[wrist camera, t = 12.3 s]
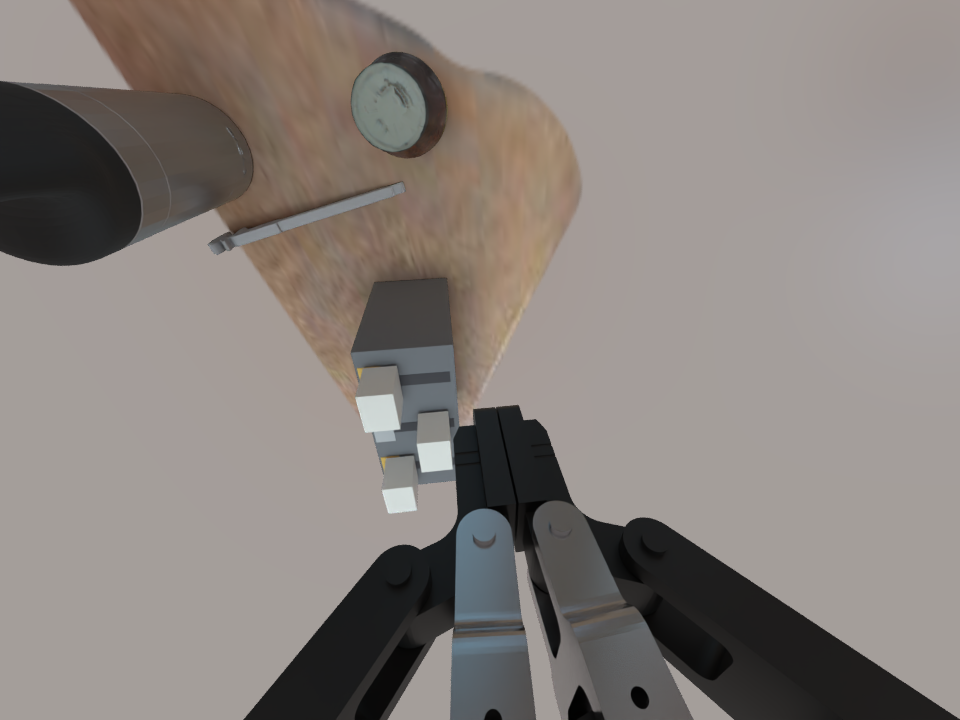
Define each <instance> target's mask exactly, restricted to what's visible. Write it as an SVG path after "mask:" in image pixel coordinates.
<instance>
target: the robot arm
mask: <svg viewBox="0 0 960 720" xmlns="http://www.w3.org/2000/svg"><path fill="white" fill-rule="evenodd" d="M252 174H253V163H252V158H251V153H250V150H249V148H248V145H247V143H246V141H245V139H244V137H243V135H242V134H241V132H240V131H239V129H238V128H237V127H236V125H235V124H234V123H233V122H232V121H231V120H230V118H229V117H227V116H226V115H225V114H224V113H223V112H222V111H220V110H219V109H218V108H216V107H215V106H213V105H212V104H210V103H208V102H207V101H204V100H202V99H199V98H197V97H194V96H189V95H184V94H173V93H159V92H149V91H135V90H120V89H107V88H92V87H79V86H65V85H51V84H33V83H17V82H5V81H4V82H3V81H0V251H2V252H4V253H6V254H9V255H12V256H15V257H17V258H21V259H24V260H27V261H31V262H36V263H41V264H47V265H57V266H67V265H68V266H69V265H79V264H84V263H89V262H92V261H95V260H98V259H101V258H103V257H105V256H108V255H109V254H112V253H114V252H116V251H119V250H121V249H123V248H125V247H127V246H130V245H132V244H134V243H136V242H139V241H141V240H143V239H145V238H148V237H150V236H152V235H154V234H156V233H159V232H161V231H163V230H165V229H168V228H170V227H172V226H175V225H177V224H179V223H181V222H184V221H186V220H188V219H191V218H193V217H195V216H198V215H200V214H202V213H205V212H207V211H209V210H211V209H214V208H217V207H219V206H221V205H223V204H226V203H228V202H230V201H232V200H234V199H236V198H238V197H240V196H241V195H242V194H243V193H244V192H245V191H246V190H247V188H248V186H249V184H250V182H251V179H252ZM473 420H474V425H471V426H461V427H459V428H458V430H457V432H456V434H455V436H454V439H453V444H454V459H455V474H456V490H457V505H458V515H457V520H456V523H455V525H454V527H453V528H452V530H451V531H450V532H449V533H448V534H447V535H446V537H444V538H443V539H441V540H440V541H438V542H436V543H434V544H432V545H430V546H427V547H425V548H423V549H421V550H419V549H418V548H416V547H414V546H411V545H398V546H394V547H392V548H390V549H388V550H386V551H385V552H384V553H382V554H381V555H380V556H379V557H378V558H377V559H376V561H375V562H374V563H373V564H372V565H371V567H370V568H369V569H368V570H367V571H366V573H365V574H364V575H363V576H362V578H361V579H360V580H359V581H358V582H357V583H356V585H355V586H354V587H353V588H352V590H351V591H350V592H349V593H348V594H347V596H346V597H345V598H344V599H343V600H342V602H341V603H340V604H339V605H338V606H337V608H336V609H335V610H334V611H333V613H332V614H331V615H330V616H329V617H328V619H327V620H326V621H325V622H324V624H322V626H321V627H320V628H319V629H318V631H317V632H316V633H315V634H314V635H313V637H312V638H311V639H310V640H309V641H308V643H307V644H306V645H305V646H304V647H303V649H302V650H301V651H300V652H299V653H298V655H297V656H296V657H295V658H294V659H293V661H292V662H291V663H290V664H289V665H288V667H287V668H286V669H285V670H284V672H283V673H282V674H281V675H280V676H279V678H278V679H277V680H276V681H275V683H274V684H273V685H272V686H271V687H270V688H269V690H268V691H267V692H266V693H265V695H264V696H263V697H262V698H261V699H260V701H259V702H258V703H257V704H256V705H255V706H254V708H253V709H252V710H251V711H250V713H249V714H248V715H247V716H246V718H245V719H244V720H387V719H388V718H389V716H390V714H391V712H392V711H393V709H394V708H395V706H396V704H397V703H398V701H399V699H400V698H401V696H402V694H403V692H404V691H405V689H406V687H407V686H408V684H409V682H410V681H411V679H412V677H413V676H414V674H415V672H416V671H417V669H418V667H419V666H420V664H421V662H422V661H423V659H424V657H425V656H426V654H427V652H428V650H429V649H430V647H431V645H432V644H433V642H434V640H435V638H436V637H437V636H439V635H441V634H443V633H444V632H446V631H448V630H450V629H451V628H453V627H454V629H453V638H452V667H451V669H452V670H451V710H450V720H536V714H535V706H534V697H533V688H532V680H531V671H530V663H529V654H528V646H527V639H526V633H525V628H524V625H523V622H522V617H521V609H520V600H519V591H518V582H517V573H516V565H515V555H514V546H515V551H516V552H521V551H525V555H526V560H527V564H528V571H527V578H528V583H529V587H530V591H531V595H532V598H533V601H534V605H535V609H536V613H537V616H538V620H539V623H540V627H541V630H542V634H543V638H544V641H545V645H546V649H547V652H548V656H549V660H550V665H551V672H552V681H553V686H554V691H555V696H556V700H557V704H558V708H559V711H560V715H561V719H562V720H693V718H692V716H691V714H690V711H689V710H688V707H687V705H686V704H685V701H684V699H683V697H682V695H681V693H680V691H679V689H678V687H677V685H676V683H675V681H674V679H673V677H672V675H671V673H670V670H669V669H668V666H667V664H666V662H665V660H664V658H665V659H666V660H667V661H668V662H670V663H671V664H672V665H673V666H674V667H675V668H676V669H677V670H679V671H680V672H681V673H682V674H683V675H684V676H685V677H686V678H688V679H689V680H690V681H691V682H692V683H693V684H694V685H695V686H697V687H698V688H699V689H700V690H701V691H702V692H703V693H705V694H706V695H707V696H708V697H709V698H710V699H711V700H713V701H714V702H715V703H716V704H717V705H718V706H719V707H720V708H722V709H723V710H724V711H725V712H726V713H727V714H728V715H730V716H731V717H732V718H733V719H734V720H960V719H958V718H957V717H955V716H954V715H952V714H951V713H949V712H948V711H946V710H945V709H943V708H942V707H940V706H939V705H937V704H936V703H934V702H933V701H931V700H930V699H928V698H927V697H925V696H924V695H922V694H921V693H919V692H918V691H916V690H914V689H913V688H912V687H910V686H909V685H907V684H906V683H904V682H902V681H901V680H899V679H898V678H896V677H895V676H893V675H892V674H890V673H889V672H887V671H886V670H884V669H883V668H881V667H880V666H878V665H877V664H875V663H874V662H872V661H871V660H869V659H868V658H866V657H865V656H863V655H861V654H860V653H859V652H857V651H855V650H854V649H853V648H851V647H850V646H848V645H847V644H845V643H843V642H842V641H840V640H839V639H837V638H836V637H834V636H833V635H831V634H830V633H828V632H827V631H825V630H824V629H822V628H821V627H819V626H818V625H816V624H815V623H813V622H812V621H810V620H809V619H807V618H806V617H804V616H803V615H801V614H800V613H798V612H797V611H795V610H794V609H792V608H790V607H789V606H787V605H786V604H784V603H783V602H781V601H780V600H778V599H777V598H775V597H774V596H772V595H771V594H769V593H768V592H766V591H765V590H763V589H762V588H760V587H759V586H757V585H756V584H754V583H753V582H751V581H750V580H748V579H747V578H745V577H744V576H742V575H740V574H739V573H738V572H736V571H734V570H733V569H732V568H730V567H728V566H727V565H726V564H724V563H722V562H721V561H719V560H718V559H716V558H715V557H713V556H712V555H710V554H709V553H707V552H706V551H704V550H703V549H701V548H700V547H698V546H697V545H695V544H694V543H692V542H691V541H689V540H688V539H686V538H685V537H683V536H682V535H680V534H679V533H677V532H676V531H674V530H672V529H671V528H669V527H668V526H667V525H665V524H663V523H662V522H659V521H657V520H654V519H651V518H636V519H633V520H632V521H630V522H629V523H628V524H627V525H626V527H623V526H618V525H613V524H609V523H603V522H599V521H596V520H594V519H591V518H589V517H588V516H586V515H585V514H583V513H582V512H581V511H580V510H579V509H578V508H577V507H576V506H575V505H574V503H573V501H572V499H571V497H570V495H569V492H568V489H567V486H566V484H565V481H564V478H563V475H562V473H561V470H560V467H559V464H558V461H557V459H556V457H555V453H554V450H553V447H552V446H551V442H550V439H549V436H548V434H547V431H546V430H545V428H544V427H543V426H542V425H541V424H540V423H539V422H538V421H537V420H536V419H534V420H523V417H522V414H521V411H520V408H519V405H513V406H502V407H496V408H495V407H492V408H481V409H473ZM663 657H664V658H663Z"/></svg>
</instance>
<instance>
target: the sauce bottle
mask: <svg viewBox="0 0 960 720" xmlns="http://www.w3.org/2000/svg"><path fill="white" fill-rule="evenodd" d="M351 108H352V115H353V118H354V121H355V123H356V125H357V127H358V129H359V131H360V132H361V134H362V135H363V136H364V137H365V139H366V140H367V141H368V142H369V143H371V144H372V145H373V146H375V147H377V148H379V149H381V150H383V151H385V152H387V153H389V154H391V155H394V156H397V157H401V158H415V157H418V156H421V155H423V154H425V153H426V152H428V151H429V150H431V149H432V148H433V147H434V146H435V145H436V144H437V142H438V141H439V140H440V138H441V136H442V134H443V132H444V129H445V125H446V120H447V101H446V97H445V93H444V90H443V88H442V85H441V83H440V81H439V80H438V78H437V76H436V75H435V73H434V72H433V71H432V70H431V68H430V67H429V66H428V65H427V64H425V63H424V62H423V61H422V60H420V59H419V58H417V57H415V56H413V55H410V54H407V53H403V52H391V53H387V54H384V55H382V56H380V57H379V58H377V59H376V60H375V61H374V62H373V63H372V64H371V65H370V66H368V67H367V68H365V69H364V70H363V71H362V72H361V73H360V74H359V75H358V77H357V78H356V80H355V82H354V85H353V89H352V94H351Z"/></svg>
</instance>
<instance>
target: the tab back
mask: <svg viewBox="0 0 960 720" xmlns="http://www.w3.org/2000/svg"><path fill="white" fill-rule="evenodd" d="M383 477H384V478H383V485H382V493H383V496H384V499H385V503H386V507H387V510H388V513H398V512H407V511H416V510H417V497H418V496H417V495H418V475H417V470H416V464H415V459H414V456H405V457H395V458H386V461H385V469H384V476H383Z"/></svg>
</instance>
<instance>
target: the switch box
mask: <svg viewBox="0 0 960 720" xmlns="http://www.w3.org/2000/svg"><path fill="white" fill-rule="evenodd" d="M351 356H352V360H353V364H354V367H355V371H356V375H357V378H358V382H359V381H360V377H361V374H362V370H363V368H375V367H387V366H397V369H398V374H399V380H400V385H401V390H402V396H403V407H402V417H401V427H400V429H399V430H389V431H378V432H372V434H373V438H374V442H375V445H376V449H377V453H378V456H379V460H380V464H381V467H382V471H383V475H384V469H385V461H386V458H395V457H405V456H414V459H415V464H416V470H417V475H418V484H427V483H437V482H446V481H456V474H455V459H454V444H453V439H454V436H455V434H456V432H457V430H458V428H459V416H458V403H457V390H456V376H455V363H454V350H453V338H452V327H451V317H450V306H449V295H448V284H447V278H438V279H422V280H406V281H390V282H374V285H373V288H372V291H371V294H370V297H369V300H368V303H367V306H366V309H365V311H364V314H363V317H362V320H361V323H360V326H359V329H358V332H357V335H356V338H355V341H354V344H353V347H352V350H351ZM443 411H448V415H449V425H450V435H451V450H452V467H453V469H451V470H442V471H432V472H421V466H420V460H419V454H418V449H417V425H418V414H421V413H432V412H443Z"/></svg>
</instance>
